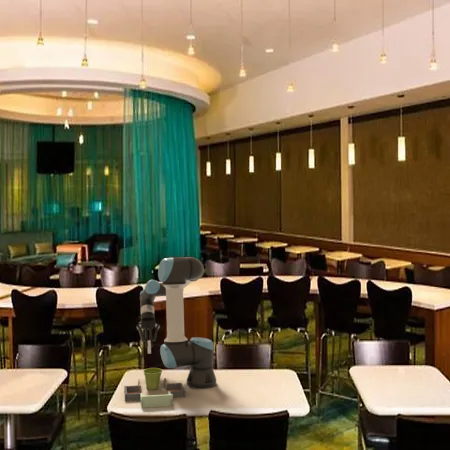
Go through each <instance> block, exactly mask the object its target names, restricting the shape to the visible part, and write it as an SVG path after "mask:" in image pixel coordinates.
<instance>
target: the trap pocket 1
mask: <svg viewBox="0 0 450 450" xmlns="http://www.w3.org/2000/svg"><path fill="white" fill-rule="evenodd" d="M123 388H124V389H123V390H124V391H123V392H124V393H123V394H125V395H124V401H125V402H128V401H130V400H131V401H140V394H141V393H142V392H139V385H138V384H136V385H123Z"/></svg>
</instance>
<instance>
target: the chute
mask: <svg viewBox="0 0 450 450" xmlns="http://www.w3.org/2000/svg"><path fill="white" fill-rule="evenodd" d="M167 384H169V383H168V380H167V378H166V377H163V386H164V388H165V391H168V390H167ZM137 385H139V393H142V382H141V379H137Z"/></svg>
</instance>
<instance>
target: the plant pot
mask: <svg viewBox="0 0 450 450" xmlns="http://www.w3.org/2000/svg"><path fill="white" fill-rule="evenodd" d="M142 372H143V375H144V378H145V379H144V380H145V385H146V386H145V387H146V389H148V390H149V391H150V390H152V391H153V390H158V389H159V388H160V382H161V376H162V372H163V369H162V368H158V367H149V368H145V369H144V370H142Z"/></svg>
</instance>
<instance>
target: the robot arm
mask: <svg viewBox="0 0 450 450" xmlns="http://www.w3.org/2000/svg"><path fill="white" fill-rule="evenodd" d="M204 269H205V268H204V265H203V263H202V262H201V260H199V259H197V258H195V257H193V256H183V257H182V256H181V257H165V258H162V260H161V261H160V262H159V265H158V269H157V270H158V271H157V277H158V280H159V281H158V280H156V279H150V280H148V281H147V282H146V284H145V286H144V289H142V290H141V291H140V293H139V301H140V304H139V305H140V324H139V323H138V324H137V325H136V329H137V331H138V333H139V337H140V340H141V342H143V343H144V344H145V346H144V347H145V348H147V354H148V355H149V354H152V348H153V346H154V345H153V344H154V343H153V342H156V340H157V337H158V336H157V335H158V332H159V330H160V328H161V327H160V326H161V324H160V323H157V322H156V318H155V317H156V316H155V303H154V302H155V299H156V298H157V297H165V304H166V305H165V306H166V308H165V309H166V310H165V311H166V337H165V338H164V340H163V341H164V343H163V344H161V345H160V349H159V353H160V357H161V360H162V363H163V365H164V367H165V368H168V369H177V368H181V367H189V366H190V367H189V372H188V374H187V378H186V386H188V387H189V388H192V389H200V390H201V389H202V390H203V389H211V388H214V387H216V385H217V378H216V375H215V370H214V343H213V341H212V339H209V338H206V337H196V336H195V337H194V336H193V337H191V338H190V340H188V337H186V336H185V310H184V309H185V308H184V307H185V306H184V304H185V303H184V291H185V290H184V289H185V288H186V287H188V286H189V285H190V284H191V283H193V282H196V281H198V280H200V279H201V278H202V277H203V276H204V271H205V270H204ZM142 329H143V330H144V334H143V330H142ZM153 329H155V330H154V334H153ZM148 331H149V335H148ZM148 336H149V339H148Z"/></svg>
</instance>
